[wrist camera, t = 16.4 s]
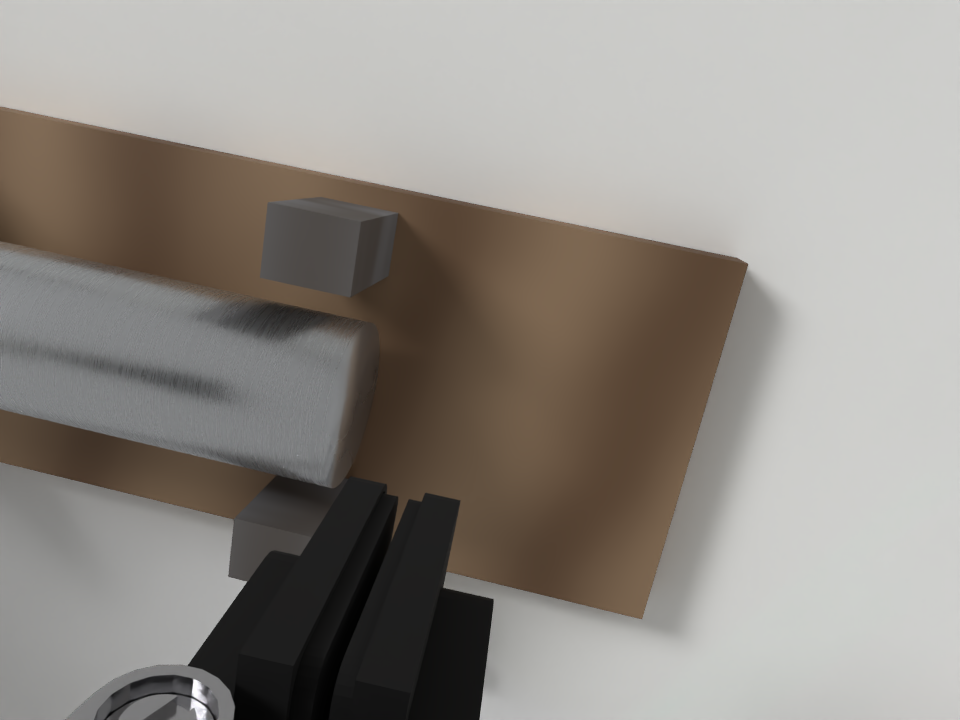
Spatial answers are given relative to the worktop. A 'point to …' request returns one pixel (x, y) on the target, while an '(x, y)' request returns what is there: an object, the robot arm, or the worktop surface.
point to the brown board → (405, 351)
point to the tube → (184, 365)
